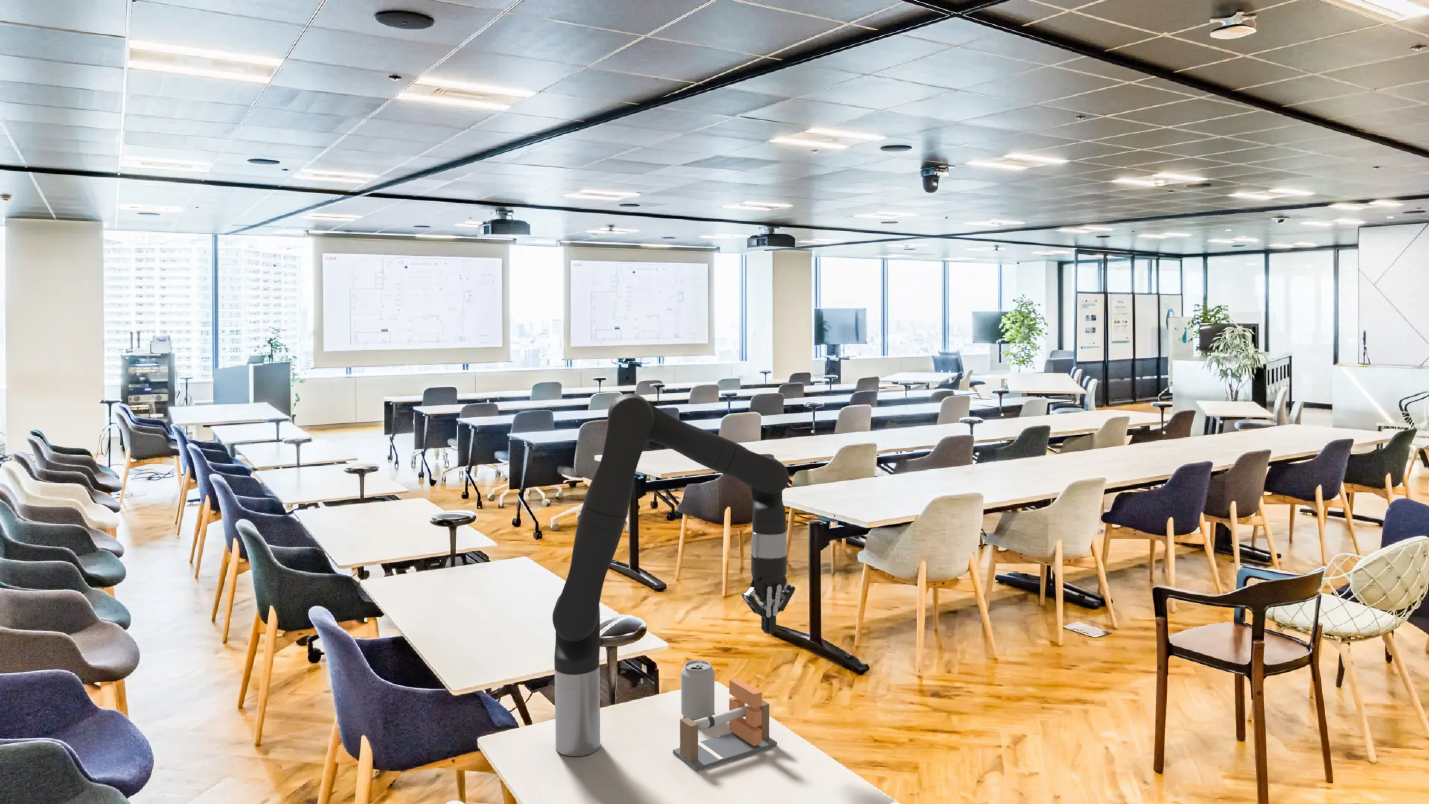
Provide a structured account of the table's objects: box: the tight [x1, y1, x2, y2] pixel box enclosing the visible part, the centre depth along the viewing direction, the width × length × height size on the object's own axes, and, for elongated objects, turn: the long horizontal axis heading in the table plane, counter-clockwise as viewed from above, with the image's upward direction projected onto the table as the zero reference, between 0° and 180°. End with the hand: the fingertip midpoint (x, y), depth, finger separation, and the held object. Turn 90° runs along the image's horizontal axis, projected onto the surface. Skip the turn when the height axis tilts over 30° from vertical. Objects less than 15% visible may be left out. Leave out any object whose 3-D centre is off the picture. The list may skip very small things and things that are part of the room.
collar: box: [728, 677, 763, 746], centre depth 191 cm, size 2×9×11 cm, turn 33°
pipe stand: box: [672, 699, 778, 772], centre depth 188 cm, size 20×9×8 cm, turn 123°
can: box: [680, 659, 716, 721], centre depth 205 cm, size 8×8×12 cm
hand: (768, 632), depth 193 cm, fingers closed
